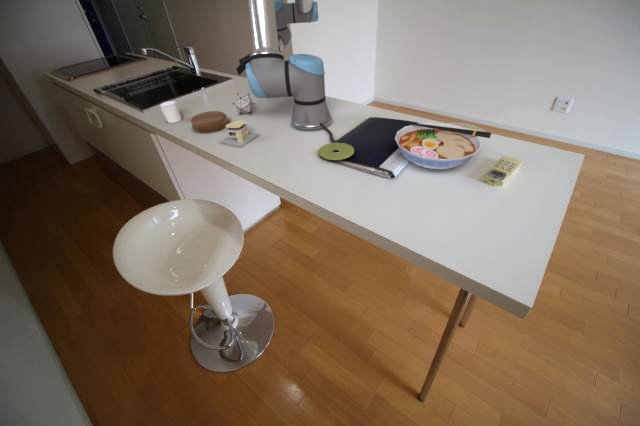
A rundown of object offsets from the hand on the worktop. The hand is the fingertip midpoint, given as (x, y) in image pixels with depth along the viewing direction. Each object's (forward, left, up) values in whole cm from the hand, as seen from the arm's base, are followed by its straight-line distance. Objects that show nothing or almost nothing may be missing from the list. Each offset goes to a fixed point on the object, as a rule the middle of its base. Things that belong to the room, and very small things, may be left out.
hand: (252, 72), depth 119 cm
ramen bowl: (-77, -26, -15) cm, 83 cm away
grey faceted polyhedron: (-4, +7, -15) cm, 17 cm away
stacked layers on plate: (-27, +17, -15) cm, 35 cm away
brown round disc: (-8, +23, -14) cm, 28 cm away
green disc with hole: (-58, -5, -15) cm, 60 cm away
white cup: (+8, +35, -15) cm, 39 cm away
